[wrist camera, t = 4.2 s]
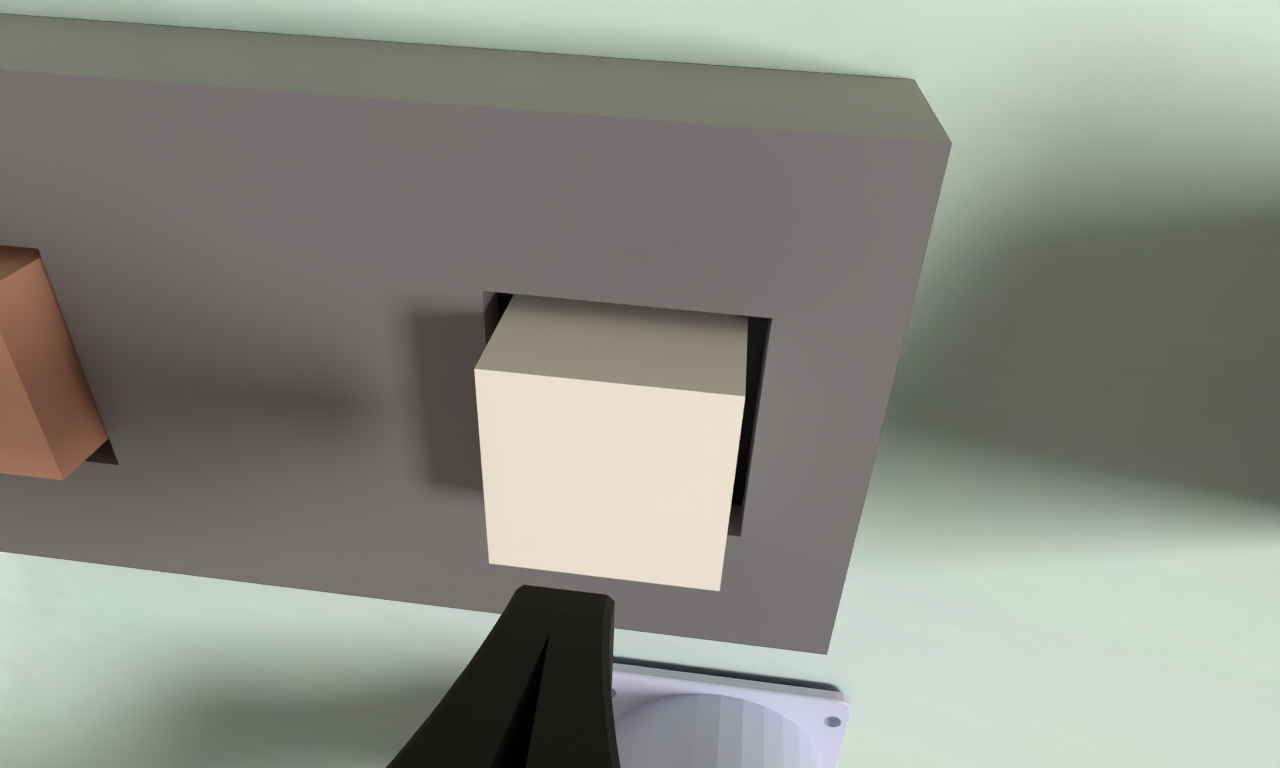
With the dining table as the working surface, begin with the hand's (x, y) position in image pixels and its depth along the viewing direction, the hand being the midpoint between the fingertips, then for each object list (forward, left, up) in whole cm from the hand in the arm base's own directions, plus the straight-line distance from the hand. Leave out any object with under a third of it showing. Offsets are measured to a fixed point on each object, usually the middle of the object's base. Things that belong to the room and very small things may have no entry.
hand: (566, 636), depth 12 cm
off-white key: (0, 0, -6) cm, 6 cm away
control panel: (0, +7, -9) cm, 12 cm away
